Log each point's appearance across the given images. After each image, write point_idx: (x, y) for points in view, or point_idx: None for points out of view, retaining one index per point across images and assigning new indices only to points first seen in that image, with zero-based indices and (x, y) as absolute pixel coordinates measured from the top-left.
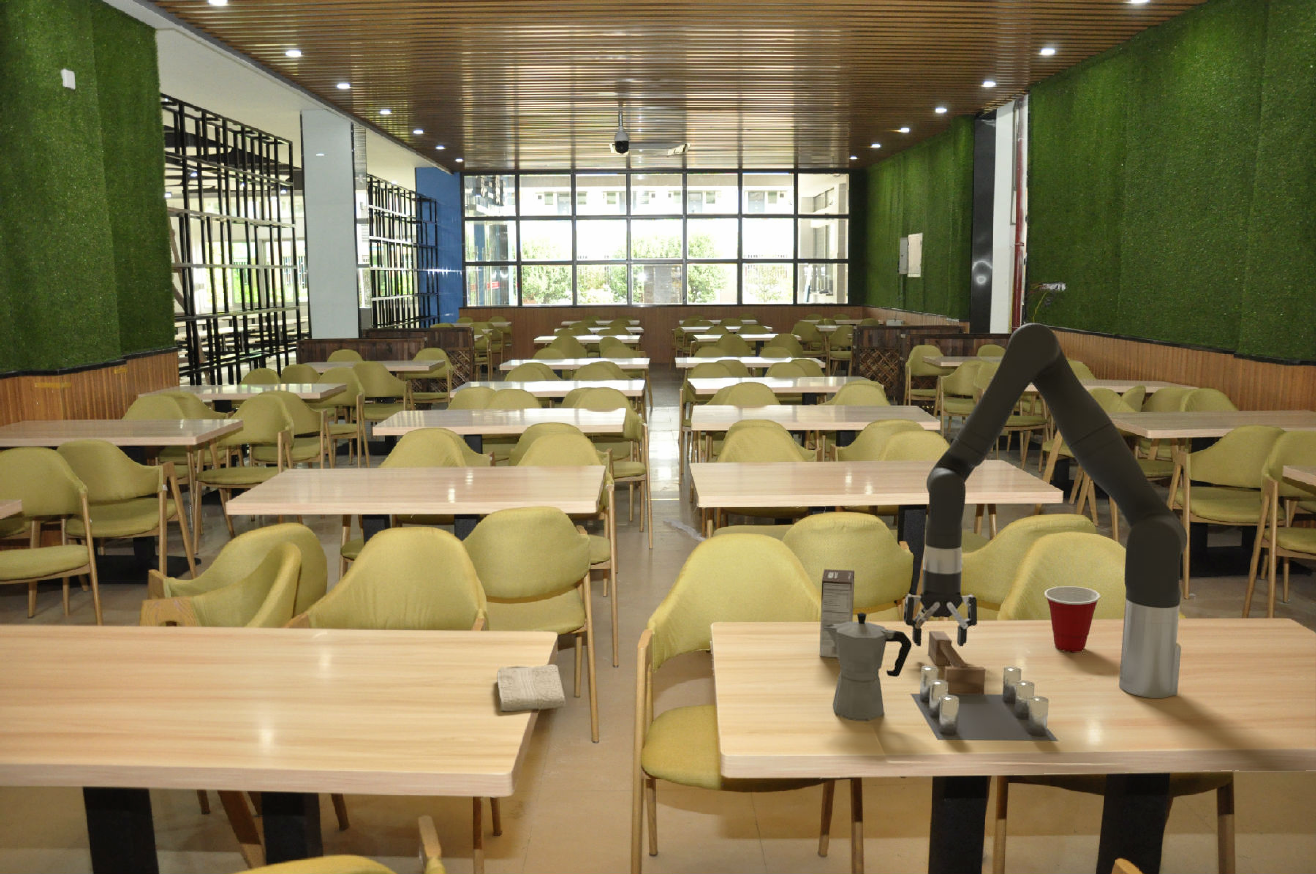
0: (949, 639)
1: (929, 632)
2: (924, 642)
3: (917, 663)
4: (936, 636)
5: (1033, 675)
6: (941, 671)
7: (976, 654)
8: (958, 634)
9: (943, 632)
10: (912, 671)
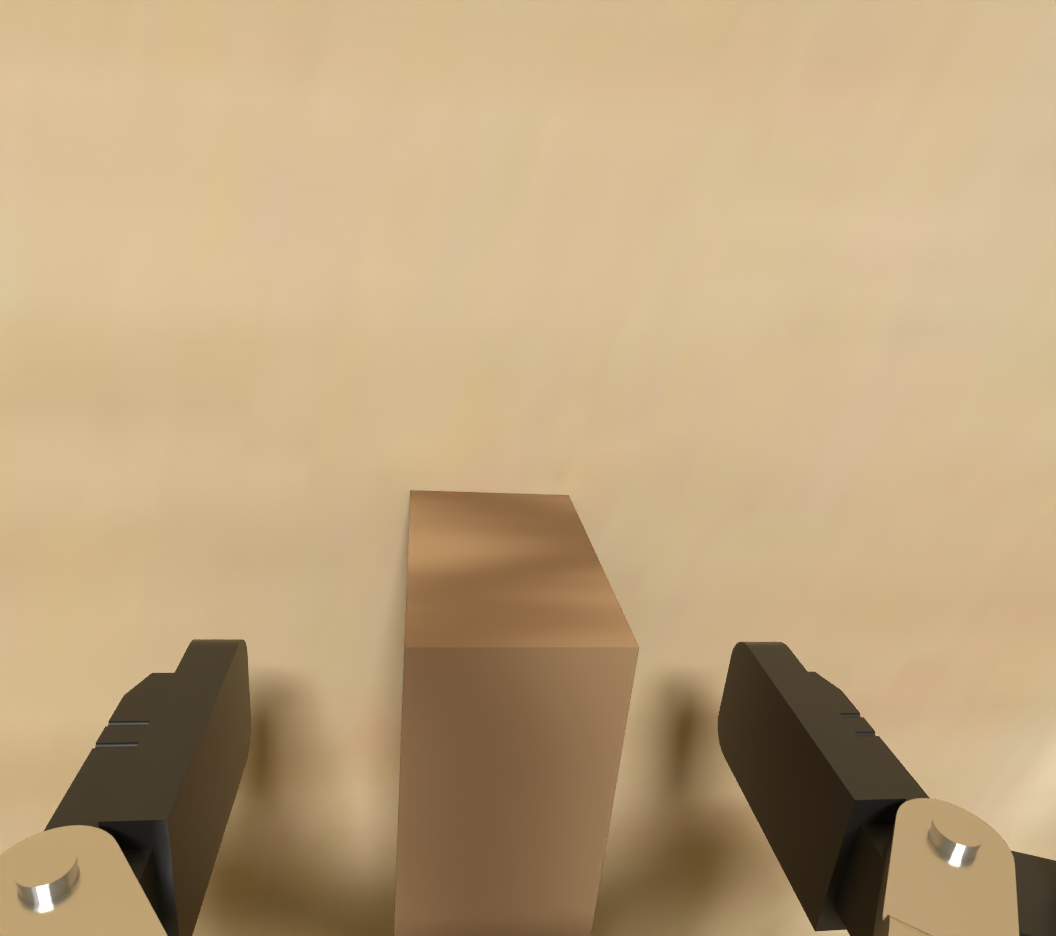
0: (578, 931)
1: (405, 650)
2: (497, 37)
3: None
4: (442, 853)
5: None
6: None
7: (906, 486)
8: (784, 756)
9: (606, 703)
10: None
